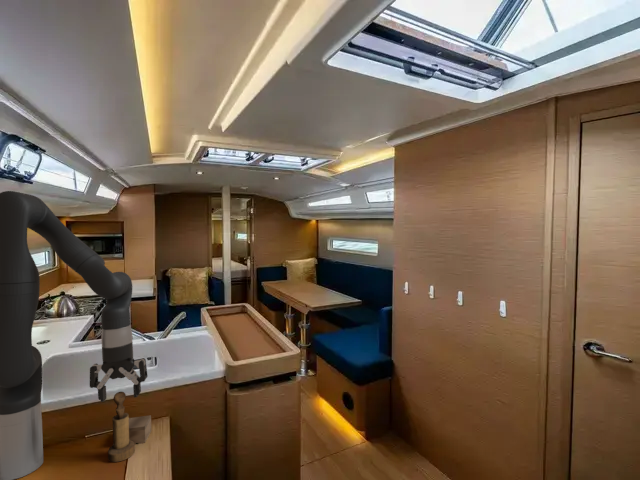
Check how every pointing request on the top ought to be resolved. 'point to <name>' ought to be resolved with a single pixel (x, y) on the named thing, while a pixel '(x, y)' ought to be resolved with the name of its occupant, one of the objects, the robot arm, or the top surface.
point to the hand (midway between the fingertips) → (120, 398)
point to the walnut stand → (139, 429)
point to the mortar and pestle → (120, 433)
